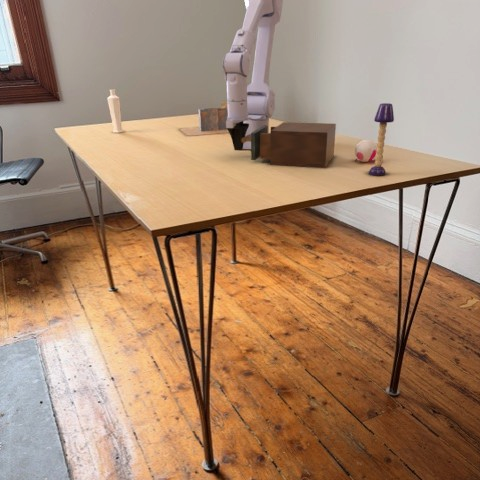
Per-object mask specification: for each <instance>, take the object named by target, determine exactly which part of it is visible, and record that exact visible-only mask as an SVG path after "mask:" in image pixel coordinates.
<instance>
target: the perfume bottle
mask: <svg viewBox="0 0 480 480" xmlns="http://www.w3.org/2000/svg"><path fill="white" fill-rule="evenodd" d="M109 93H110V95H109V96H108V97H107V98H106V100H107V104H108V109H109V114H110V119H111V122H112V128H113V131H112V133H114V134H115V133H116V134H119V133H124V130H123V127H122V113H121V112H122V111H121V100H120V96H118V95H116V89H115V88H113V89H109Z"/></svg>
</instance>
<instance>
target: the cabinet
mask: <svg viewBox="0 0 480 480" xmlns="http://www.w3.org/2000/svg"><path fill="white" fill-rule="evenodd" d="M336 126H337V124H336V123H326V122H325V123H322V122H292V121H291V122H289V121H285V122H281V123H280V124H278V125H277V126H274V127H275V128H274V129H272V130H271V129H270V130H269V133H271V134H270V159H269V165H270V166H289V167H303V168H304V167H305V168H307V167H308V168H326V167H327V166H328V164H329V163H330V162H331V160H332V159H333V158H334V156H335V141H336V128H337V127H336Z"/></svg>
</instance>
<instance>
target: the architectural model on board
mask: <svg viewBox="0 0 480 480" xmlns="http://www.w3.org/2000/svg"><path fill="white" fill-rule="evenodd" d="M197 110H198V123H199V127H187V128H179V130H180V132H182V133H183V134H184V135H186V136H187V137H191V136H192V137H193V136H204V135H216V134H230V133H229V131H228V129H227V128H226V121H227V117H228V105H227V101H225V102H222V101H220V107H209V108H204V109H200V108H198V109H197Z"/></svg>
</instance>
